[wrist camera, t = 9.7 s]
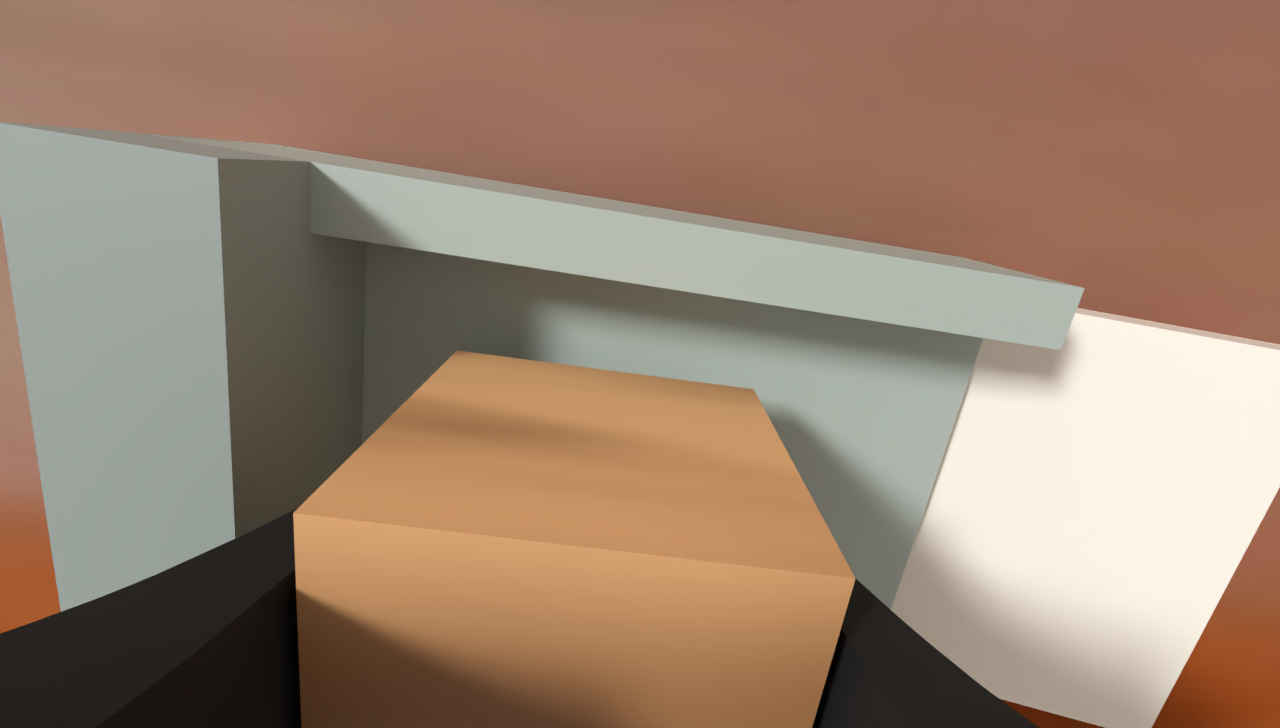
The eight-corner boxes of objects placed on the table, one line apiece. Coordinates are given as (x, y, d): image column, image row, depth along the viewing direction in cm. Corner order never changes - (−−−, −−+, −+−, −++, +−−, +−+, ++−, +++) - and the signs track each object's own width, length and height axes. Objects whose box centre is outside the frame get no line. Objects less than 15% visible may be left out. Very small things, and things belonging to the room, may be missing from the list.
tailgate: (857, 617, 16) (1107, 683, 15) (867, 662, 14) (1145, 739, 13) (964, 286, 13) (1274, 341, 12) (990, 297, 12) (1345, 362, 11)
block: (703, 629, 12) (748, 942, 7) (445, 599, 12) (307, 903, 7) (753, 389, 10) (855, 578, 5) (456, 350, 10) (292, 513, 5)
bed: (828, 617, 16) (948, 884, 10) (304, 552, 16) (89, 801, 9) (940, 251, 14) (1202, 317, 7) (301, 146, 13) (-14, 121, 6)
